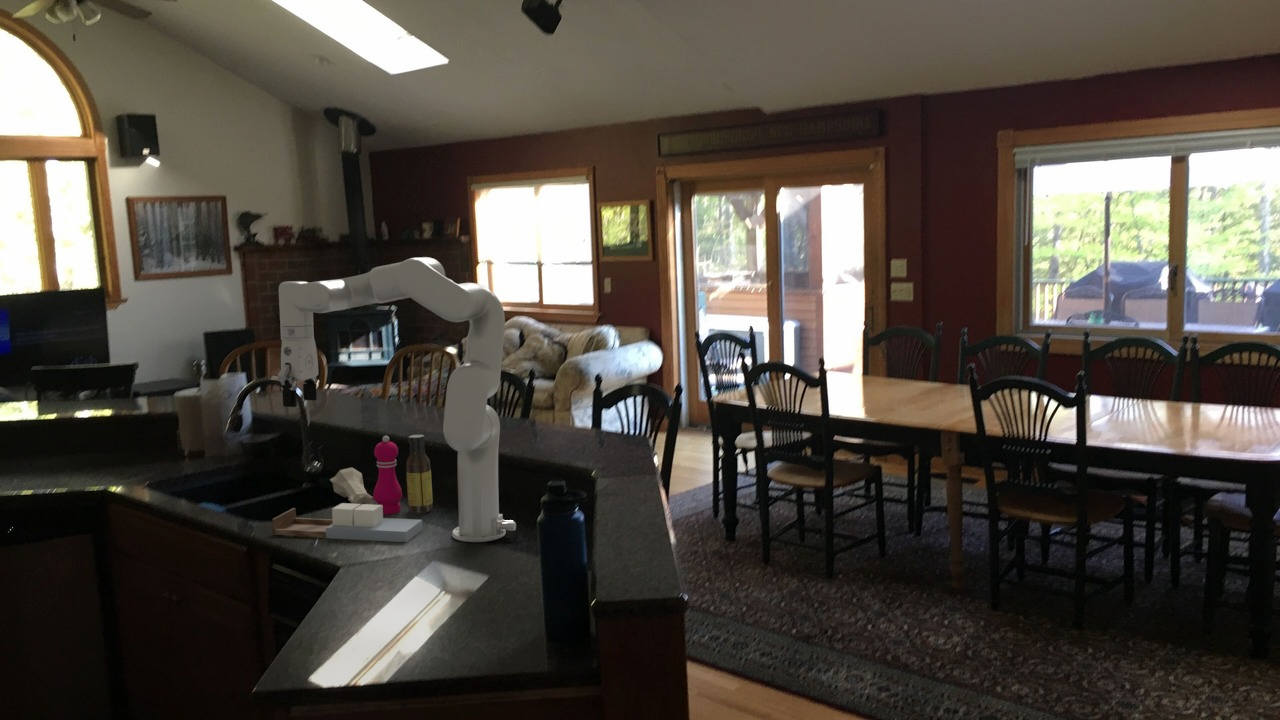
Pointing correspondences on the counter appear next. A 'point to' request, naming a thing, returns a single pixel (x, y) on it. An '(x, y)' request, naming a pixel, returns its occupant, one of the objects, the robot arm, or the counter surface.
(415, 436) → the sauce bottle
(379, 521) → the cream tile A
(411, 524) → the slate bench
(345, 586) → the counter surface
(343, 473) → the cream faceted tapered piece
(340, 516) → the cream square block
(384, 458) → the pepper mill
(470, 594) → the counter surface
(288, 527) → the walnut box
